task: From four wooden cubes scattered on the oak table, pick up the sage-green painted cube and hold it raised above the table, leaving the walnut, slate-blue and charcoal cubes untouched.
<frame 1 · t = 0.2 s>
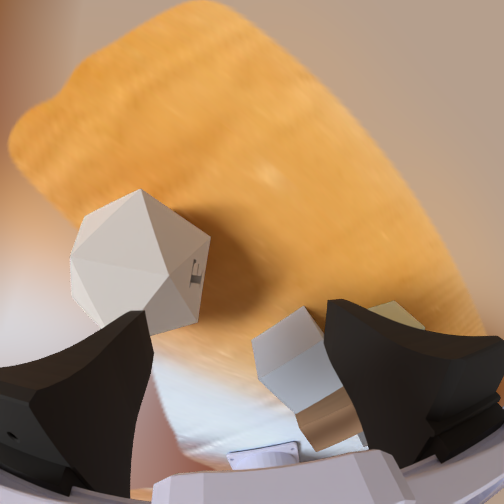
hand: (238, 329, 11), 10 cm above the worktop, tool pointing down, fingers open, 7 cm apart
slate block: (293, 342, 23), on the worktop
sage block: (369, 331, 24), on the worktop
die: (151, 249, 20), on the worktop
walnut block: (319, 393, 25), on the worktop
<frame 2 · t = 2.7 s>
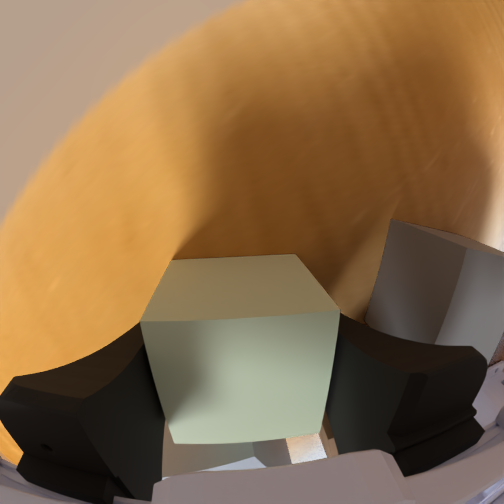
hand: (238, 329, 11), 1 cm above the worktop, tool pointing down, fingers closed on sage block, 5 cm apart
slate block: (224, 419, 14), on the worktop
charcoal block: (416, 275, 13), on the worktop
sage block: (236, 312, 12), on the worktop, touching gripper
walnut block: (349, 380, 14), on the worktop
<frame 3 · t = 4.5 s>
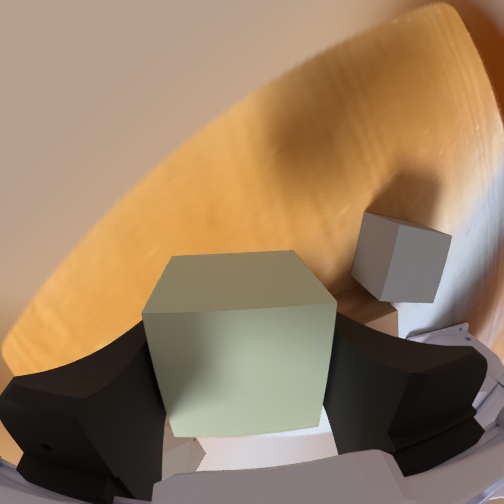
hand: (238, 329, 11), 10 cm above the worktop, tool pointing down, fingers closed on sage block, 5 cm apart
charcoal block: (383, 247, 22), on the worktop
sage block: (235, 308, 13), point 8 cm above the worktop, touching gripper
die: (161, 419, 25), on the worktop
walnut block: (343, 318, 23), on the worktop
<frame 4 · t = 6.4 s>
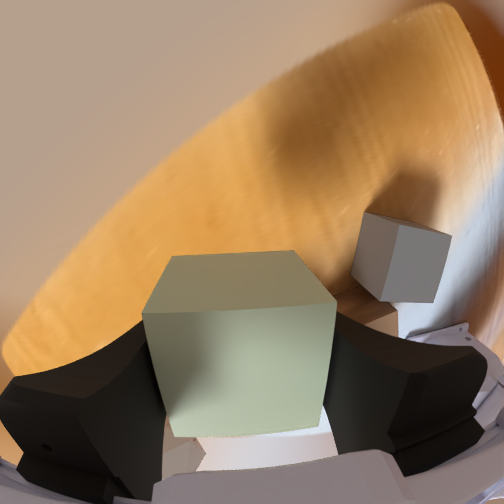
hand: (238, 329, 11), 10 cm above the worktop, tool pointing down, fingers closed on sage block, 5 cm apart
charcoal block: (383, 247, 22), on the worktop
sage block: (235, 308, 13), point 8 cm above the worktop, touching gripper
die: (161, 419, 25), on the worktop
walnut block: (343, 318, 23), on the worktop
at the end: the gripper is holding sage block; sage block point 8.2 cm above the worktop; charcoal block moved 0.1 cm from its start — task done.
